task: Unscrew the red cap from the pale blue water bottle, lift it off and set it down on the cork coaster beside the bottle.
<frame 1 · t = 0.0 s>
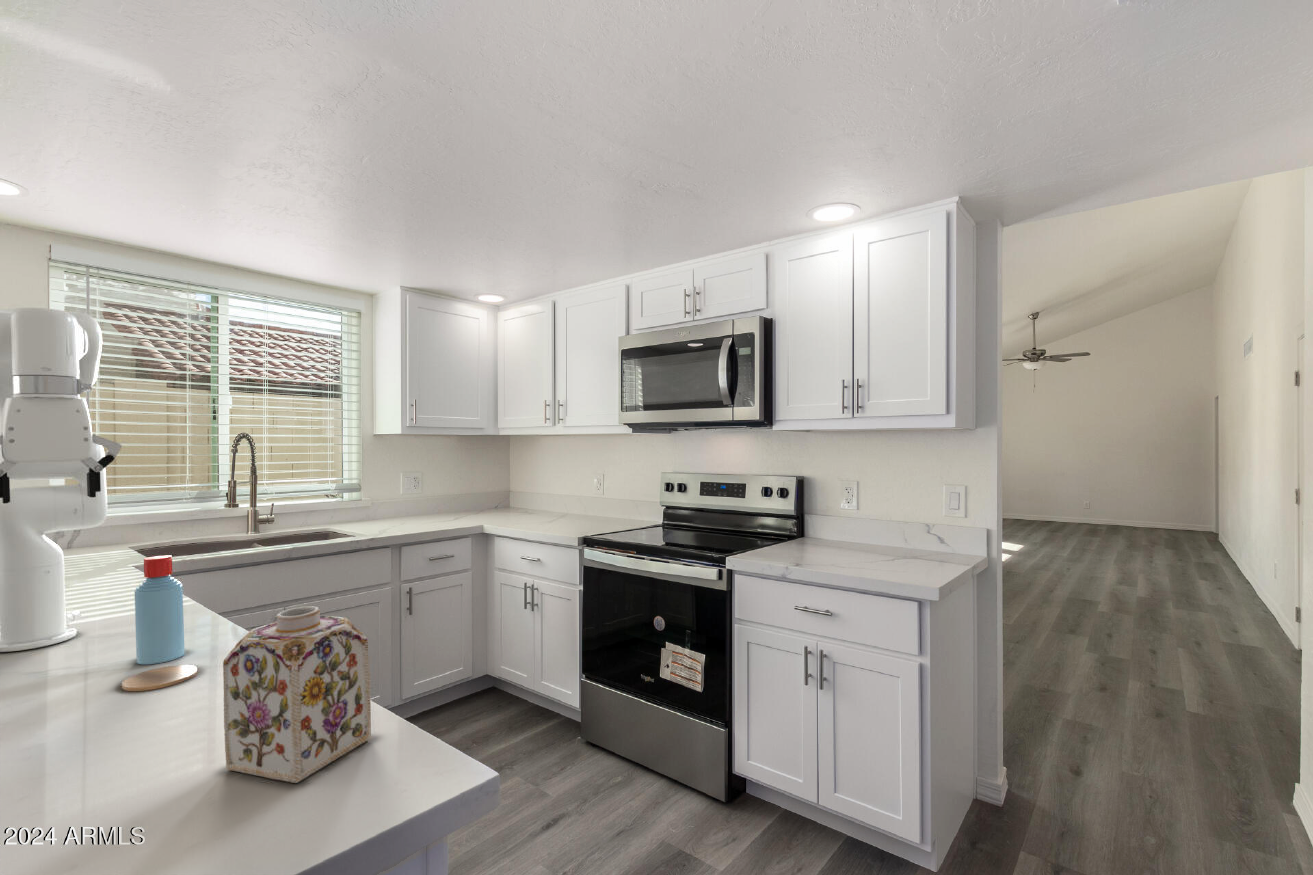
hand: (50, 499, 99), 31 cm above the counter, tool pointing down, fingers open, 9 cm apart
bottle: (161, 657, 118), on the counter
cap: (158, 560, 118), point 18 cm above the counter, screwed on, not yet turned
coaster: (160, 679, 107), on the counter
decorative jar: (301, 755, 80), on the counter
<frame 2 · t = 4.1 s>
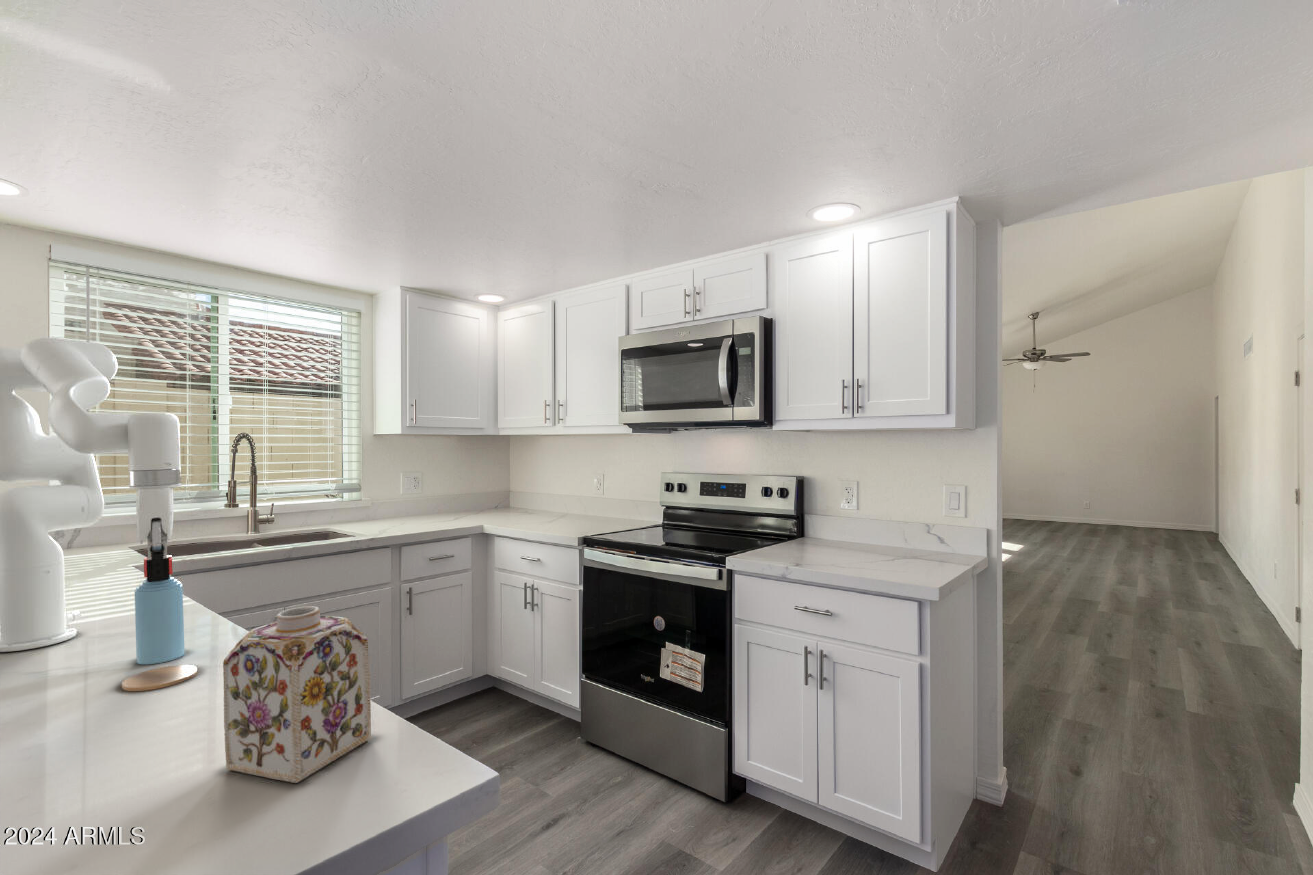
hand: (158, 577, 118), 15 cm above the counter, tool pointing down, fingers closed on cap, 4 cm apart
cap: (158, 560, 118), point 18 cm above the counter, screwed on, not yet turned, touching gripper
everything else where it was.
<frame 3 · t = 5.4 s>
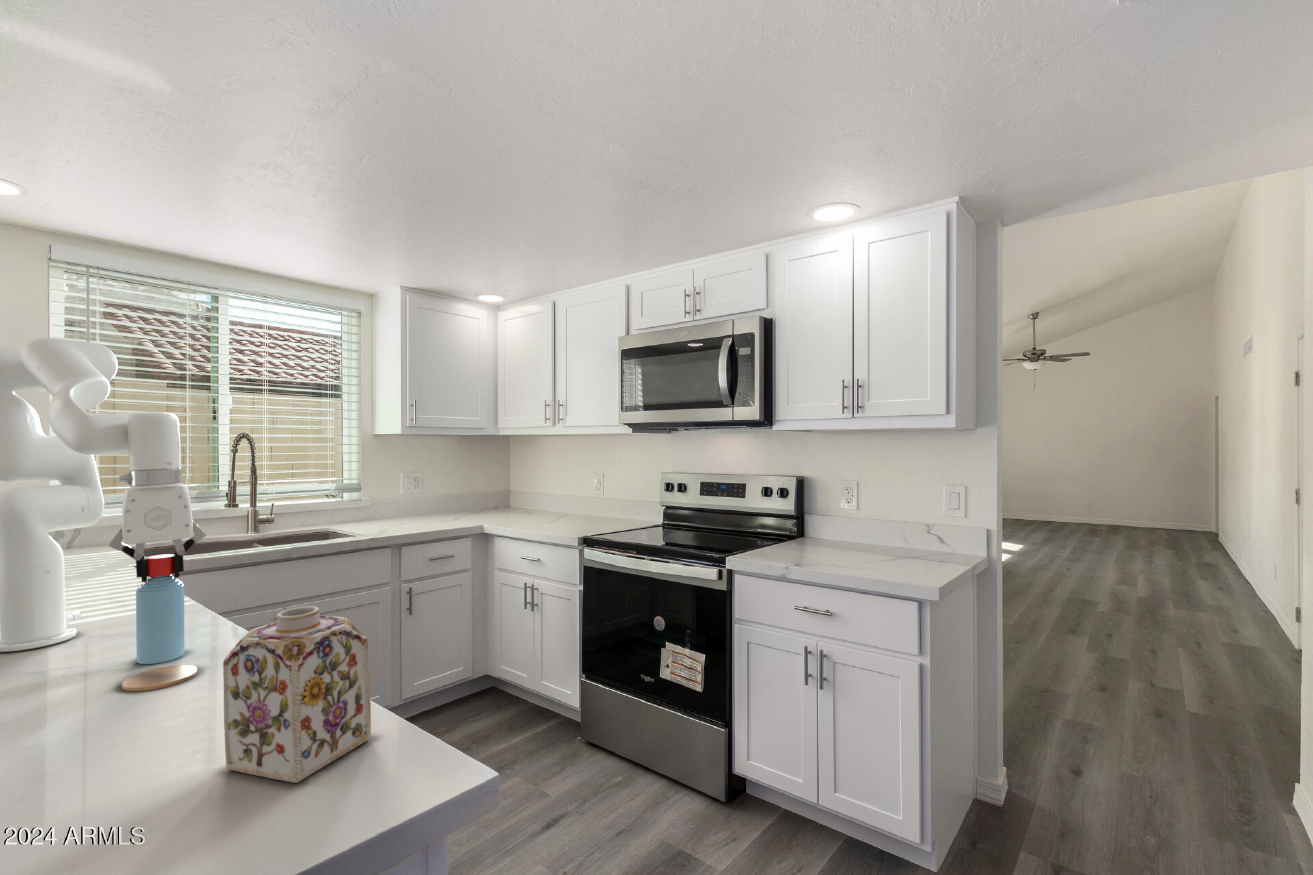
hand: (160, 577, 117), 15 cm above the counter, tool pointing down, fingers closed on cap, 4 cm apart
bottle: (161, 657, 118), on the counter, touching gripper
cap: (160, 559, 117), point 18 cm above the counter, turned 91° so far, risen 0.1 cm, still on its thread, touching gripper
everything else where it was.
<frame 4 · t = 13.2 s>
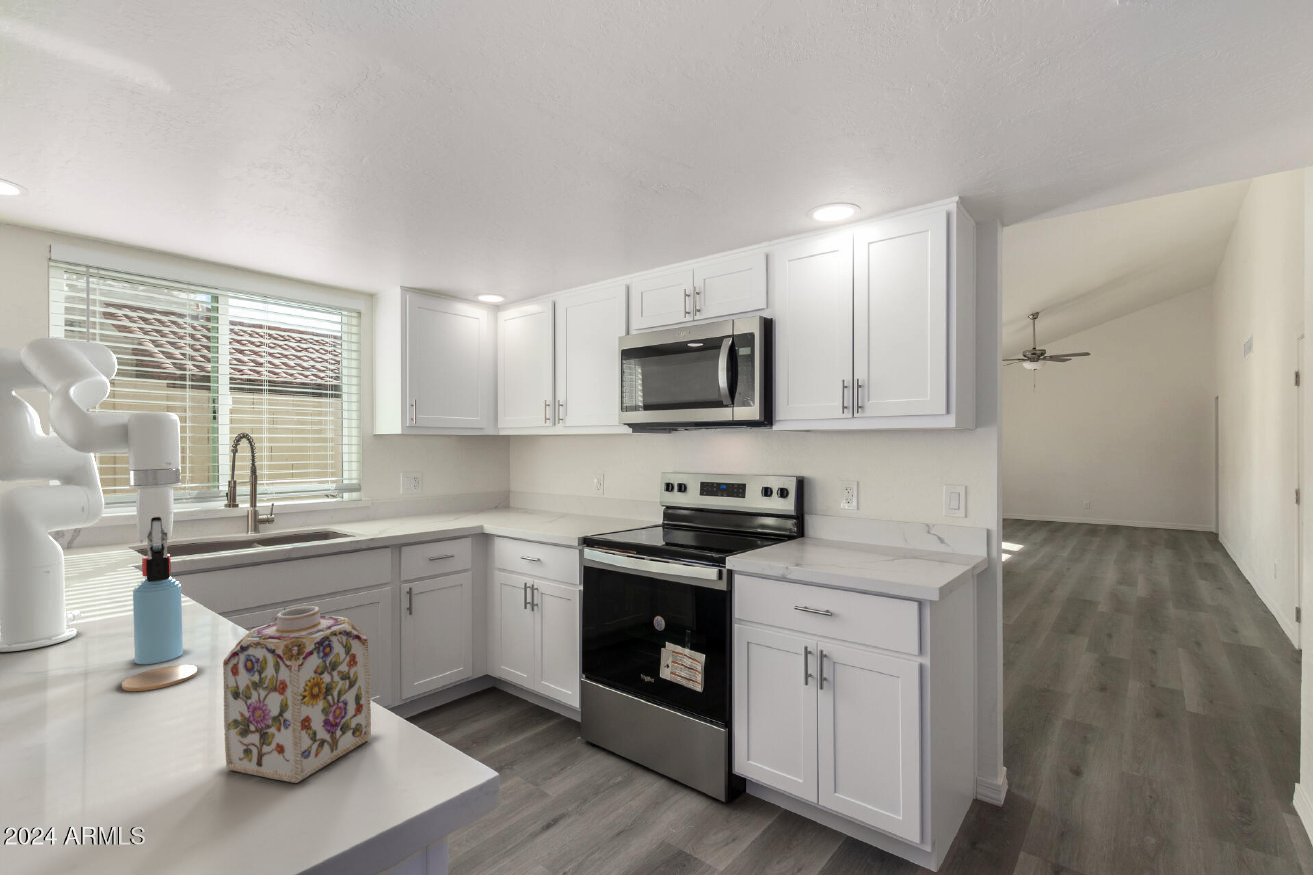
hand: (158, 577, 118), 15 cm above the counter, tool pointing down, fingers closed on cap, 4 cm apart
bottle: (159, 657, 118), on the counter
cap: (156, 558, 118), point 18 cm above the counter, turned 180° so far, risen 0.2 cm, still on its thread, touching gripper
everything else where it was.
when the fingers open (2 cm above the counter, at t = 27.9 s): cap drops 2 cm, resting on coaster.
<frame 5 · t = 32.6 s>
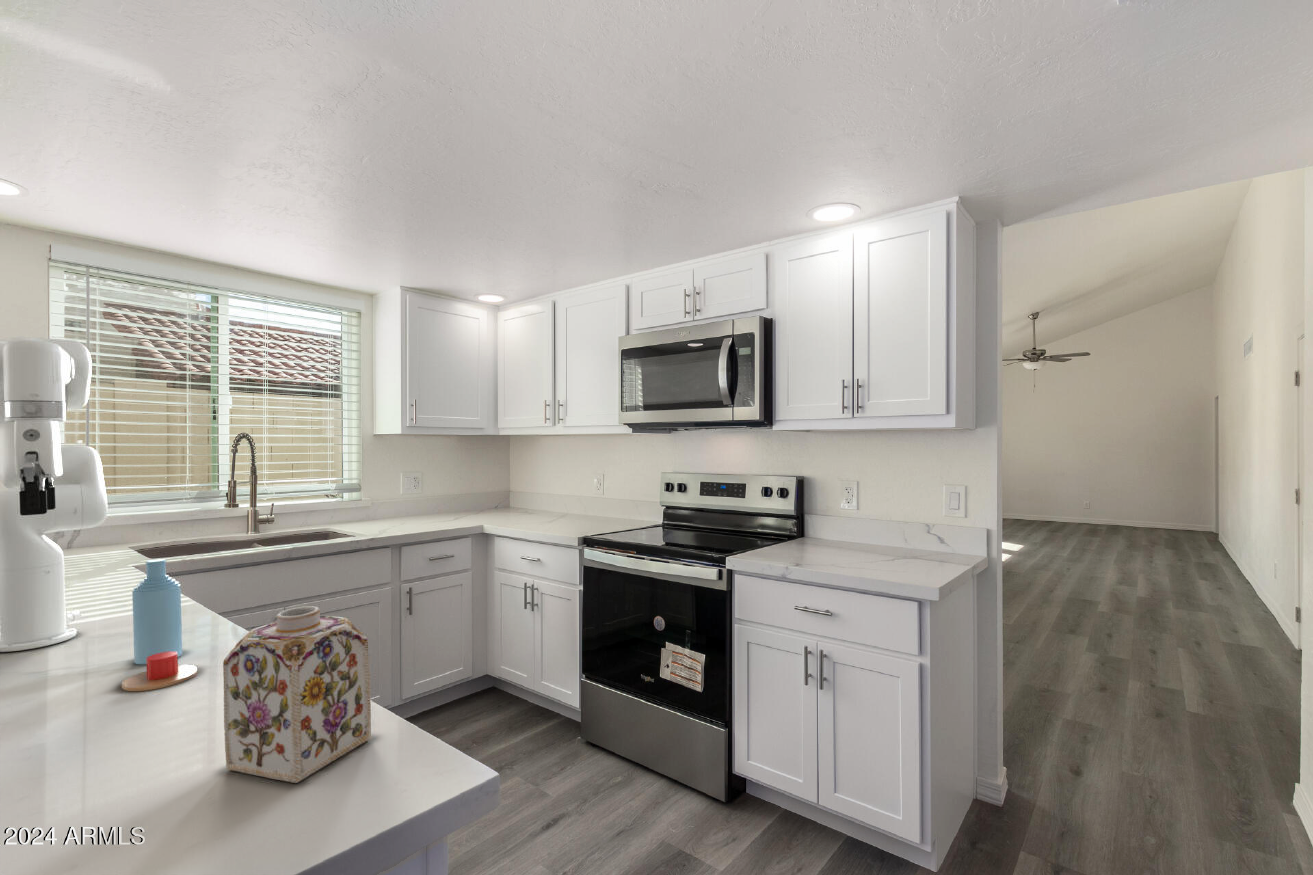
hand: (38, 512, 110), 28 cm above the counter, tool pointing down, fingers open, 9 cm apart
cap: (162, 658, 107), point 3 cm above the counter, off its thread, touching coaster
everything else where it was.
at the end: cap came off its thread; cap inside the target area on the coaster (0.3 cm from its centre), point 3.4 cm above the coaster's base; the gripper is holding nothing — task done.
